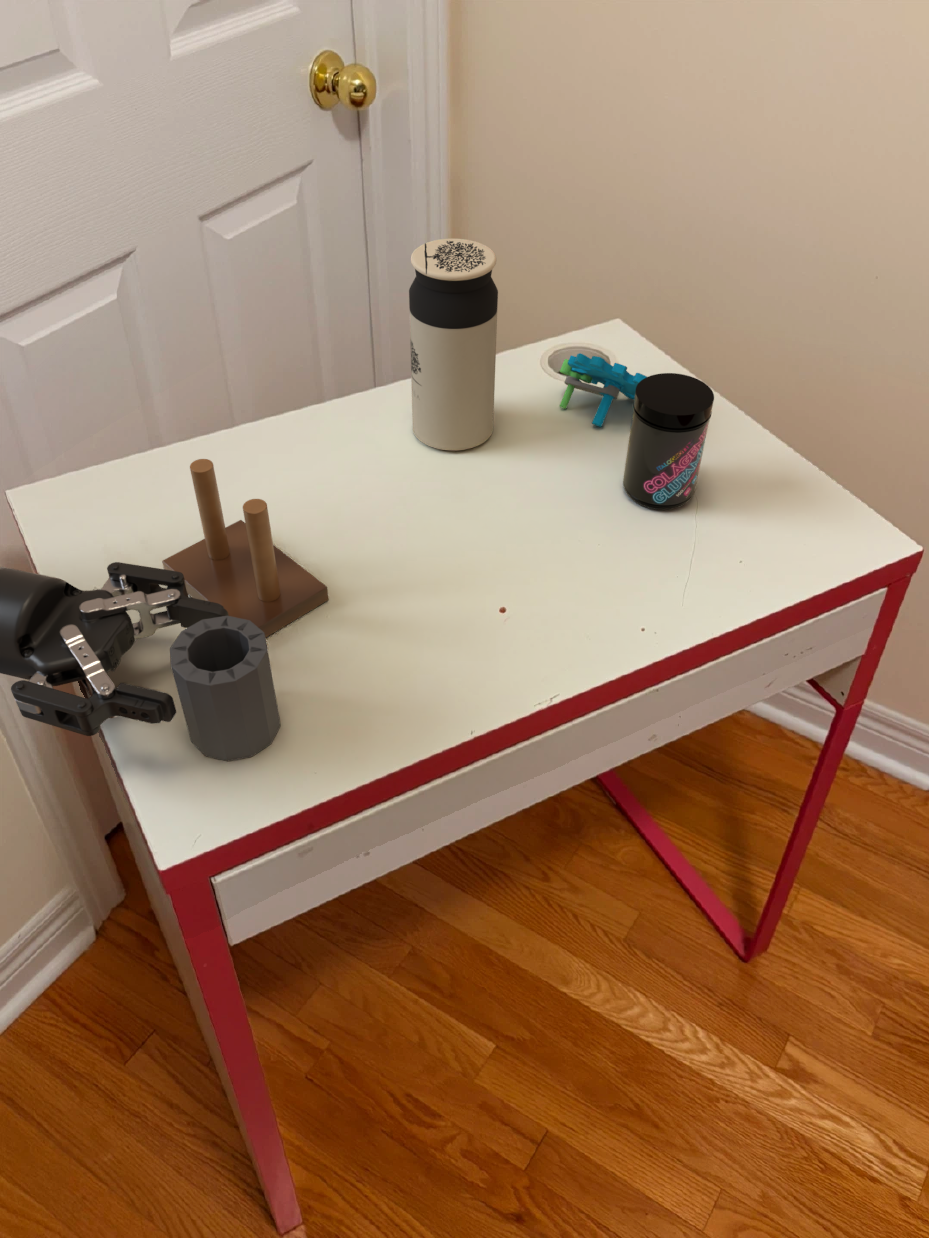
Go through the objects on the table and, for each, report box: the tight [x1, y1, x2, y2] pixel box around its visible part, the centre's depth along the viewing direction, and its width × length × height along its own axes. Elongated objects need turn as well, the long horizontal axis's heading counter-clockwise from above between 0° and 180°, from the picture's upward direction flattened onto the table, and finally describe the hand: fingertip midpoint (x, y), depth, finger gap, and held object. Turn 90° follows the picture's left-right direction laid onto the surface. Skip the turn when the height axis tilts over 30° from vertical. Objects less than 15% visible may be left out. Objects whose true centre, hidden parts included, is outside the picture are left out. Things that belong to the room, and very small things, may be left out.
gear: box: [559, 352, 648, 428], centre depth 104 cm, size 11×6×10 cm
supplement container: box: [622, 372, 715, 511], centre depth 94 cm, size 7×7×10 cm
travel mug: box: [408, 238, 499, 451], centre depth 98 cm, size 8×8×18 cm
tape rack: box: [161, 458, 329, 638], centre depth 84 cm, size 12×8×10 cm, turn 44°
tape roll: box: [169, 616, 281, 762], centre depth 74 cm, size 6×6×8 cm
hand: (201, 663), depth 73 cm, fingers open, 8 cm apart
